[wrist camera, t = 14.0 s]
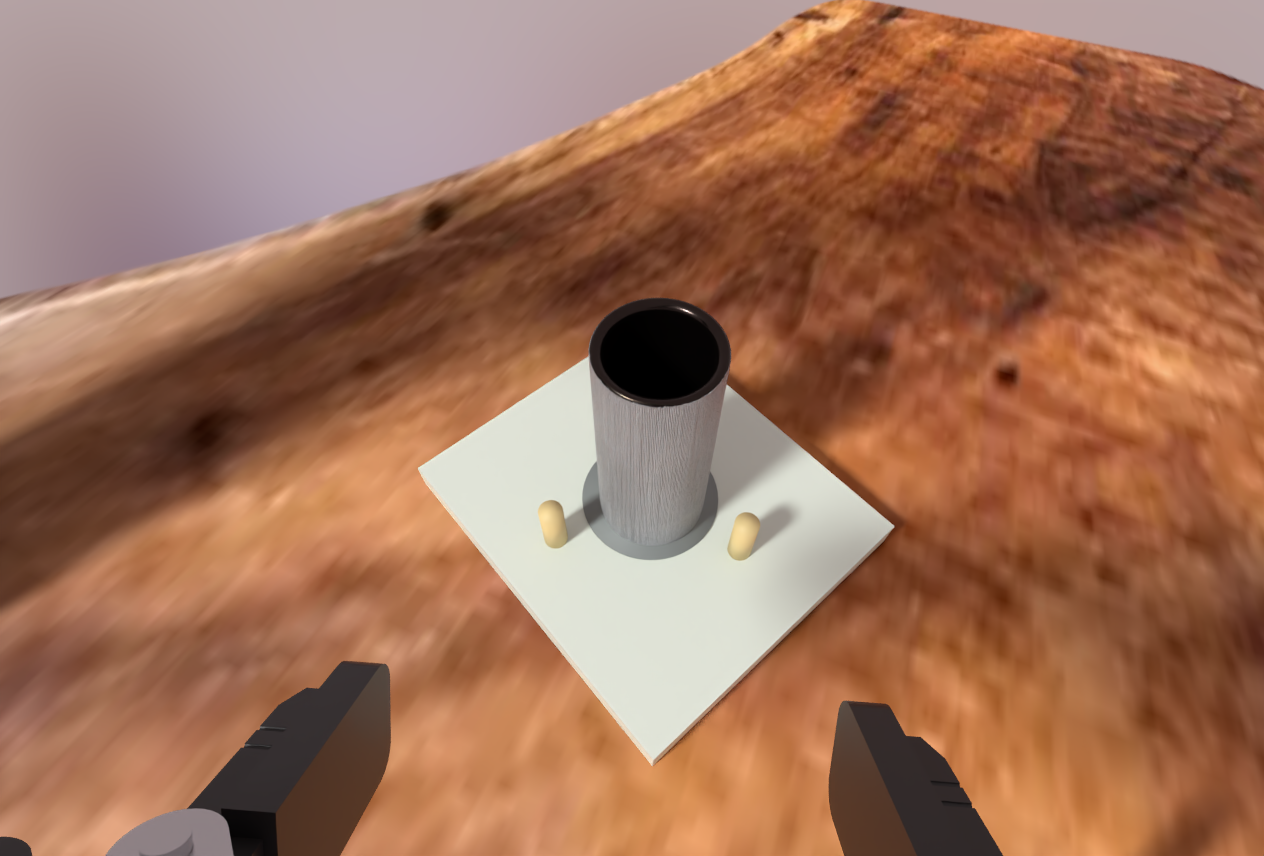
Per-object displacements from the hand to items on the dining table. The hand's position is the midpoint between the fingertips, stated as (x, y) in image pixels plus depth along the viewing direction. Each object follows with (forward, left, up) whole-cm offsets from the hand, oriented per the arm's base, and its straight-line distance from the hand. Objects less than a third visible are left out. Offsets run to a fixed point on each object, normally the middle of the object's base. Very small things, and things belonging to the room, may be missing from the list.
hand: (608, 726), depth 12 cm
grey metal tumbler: (-8, +9, -14) cm, 19 cm away
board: (-8, +9, -16) cm, 20 cm away
